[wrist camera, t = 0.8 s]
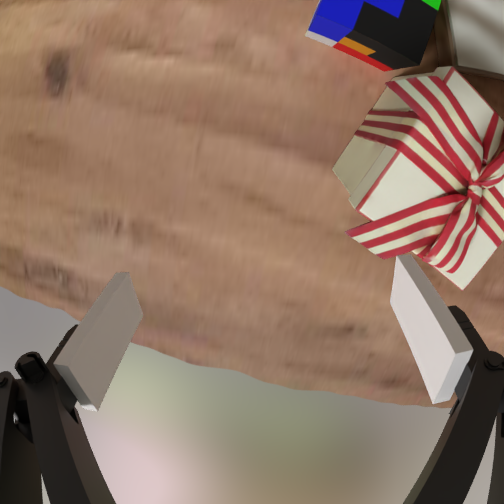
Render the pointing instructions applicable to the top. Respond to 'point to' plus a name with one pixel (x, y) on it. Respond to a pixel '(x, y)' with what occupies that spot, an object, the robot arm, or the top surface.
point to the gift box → (429, 174)
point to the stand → (471, 36)
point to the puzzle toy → (376, 29)
